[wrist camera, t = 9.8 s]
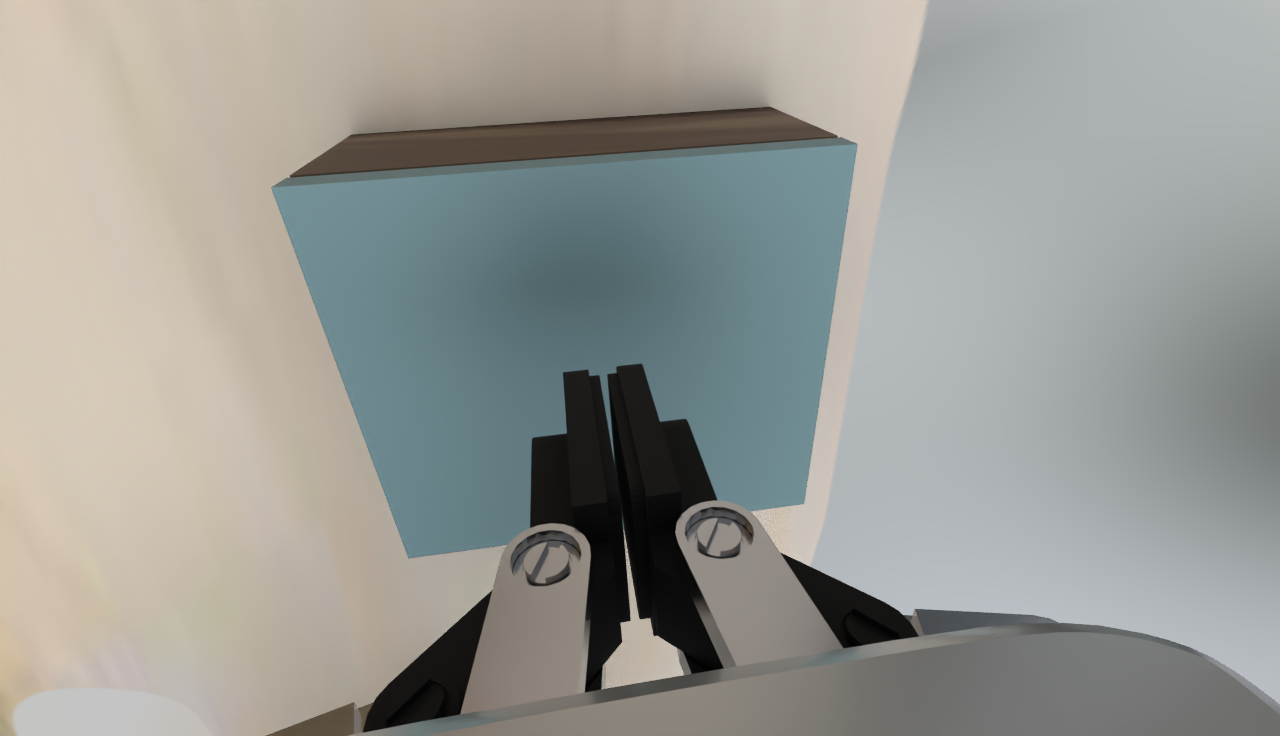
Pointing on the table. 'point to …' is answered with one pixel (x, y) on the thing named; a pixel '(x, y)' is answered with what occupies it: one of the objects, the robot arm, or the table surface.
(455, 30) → the table surface
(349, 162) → the storage box
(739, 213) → the lid
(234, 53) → the table surface
